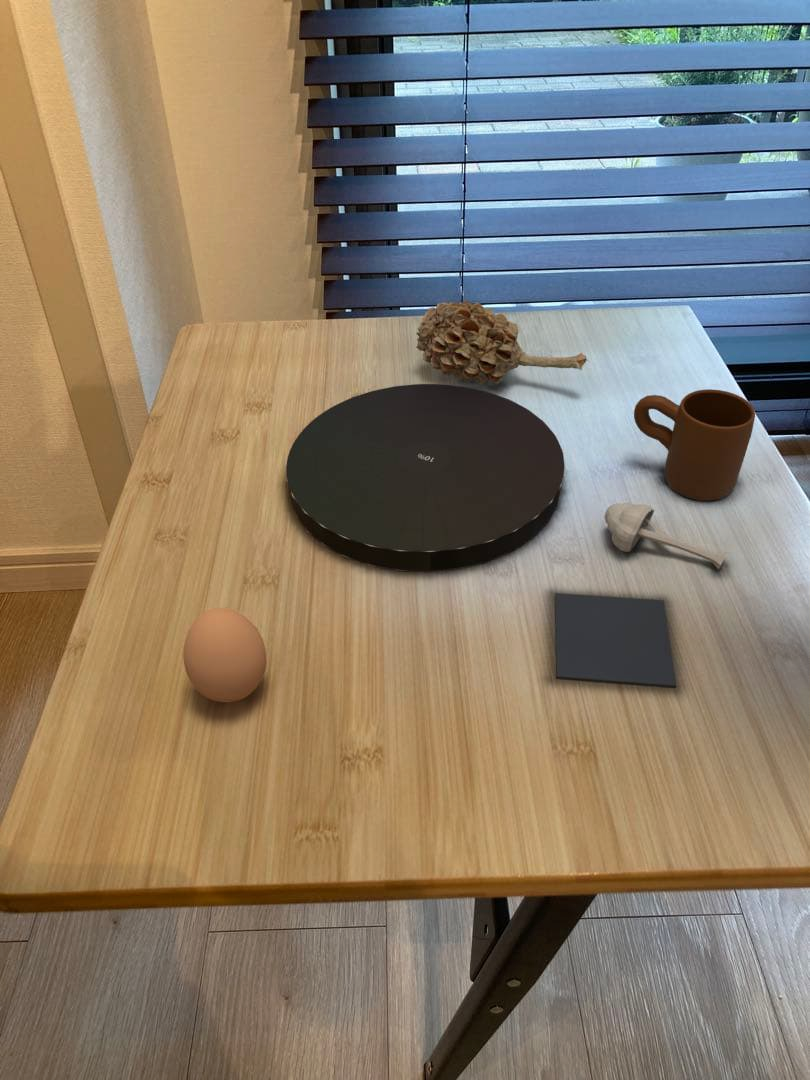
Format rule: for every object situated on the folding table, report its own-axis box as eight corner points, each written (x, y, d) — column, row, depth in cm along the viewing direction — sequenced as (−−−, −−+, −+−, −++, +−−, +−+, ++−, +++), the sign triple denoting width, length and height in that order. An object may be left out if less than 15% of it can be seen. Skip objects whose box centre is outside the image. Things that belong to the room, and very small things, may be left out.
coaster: (663, 602, 79) (663, 600, 78) (675, 687, 71) (676, 685, 71) (554, 595, 80) (555, 592, 79) (556, 678, 72) (556, 676, 72)
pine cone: (407, 390, 107) (405, 318, 100) (426, 353, 114) (426, 283, 107) (582, 414, 102) (592, 340, 95) (591, 374, 109) (602, 302, 102)
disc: (243, 541, 86) (238, 519, 84) (344, 389, 107) (342, 368, 105) (533, 599, 79) (535, 576, 77) (580, 424, 100) (583, 402, 98)
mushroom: (728, 555, 77) (605, 504, 81) (707, 595, 80) (589, 544, 83) (737, 526, 83) (621, 479, 86) (717, 564, 85) (606, 517, 89)
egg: (288, 689, 72) (274, 616, 66) (224, 735, 69) (203, 663, 63) (242, 647, 76) (225, 574, 70) (179, 689, 72) (155, 617, 66)
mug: (614, 480, 92) (627, 407, 86) (634, 443, 97) (647, 372, 91) (726, 511, 88) (749, 436, 82) (741, 471, 93) (763, 398, 87)
